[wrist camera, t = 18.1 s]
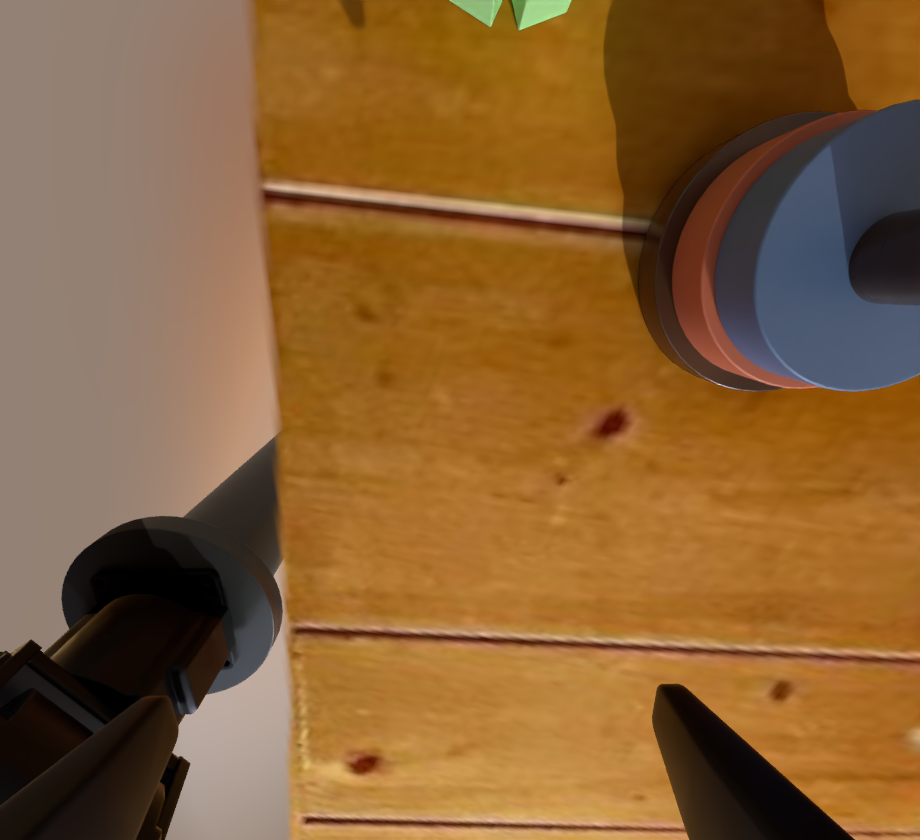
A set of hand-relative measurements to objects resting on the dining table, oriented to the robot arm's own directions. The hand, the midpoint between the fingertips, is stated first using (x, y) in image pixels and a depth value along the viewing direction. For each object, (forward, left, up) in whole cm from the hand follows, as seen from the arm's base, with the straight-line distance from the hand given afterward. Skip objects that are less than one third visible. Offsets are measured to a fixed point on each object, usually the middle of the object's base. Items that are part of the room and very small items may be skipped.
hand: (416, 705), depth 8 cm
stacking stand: (+13, +8, -12) cm, 19 cm away
